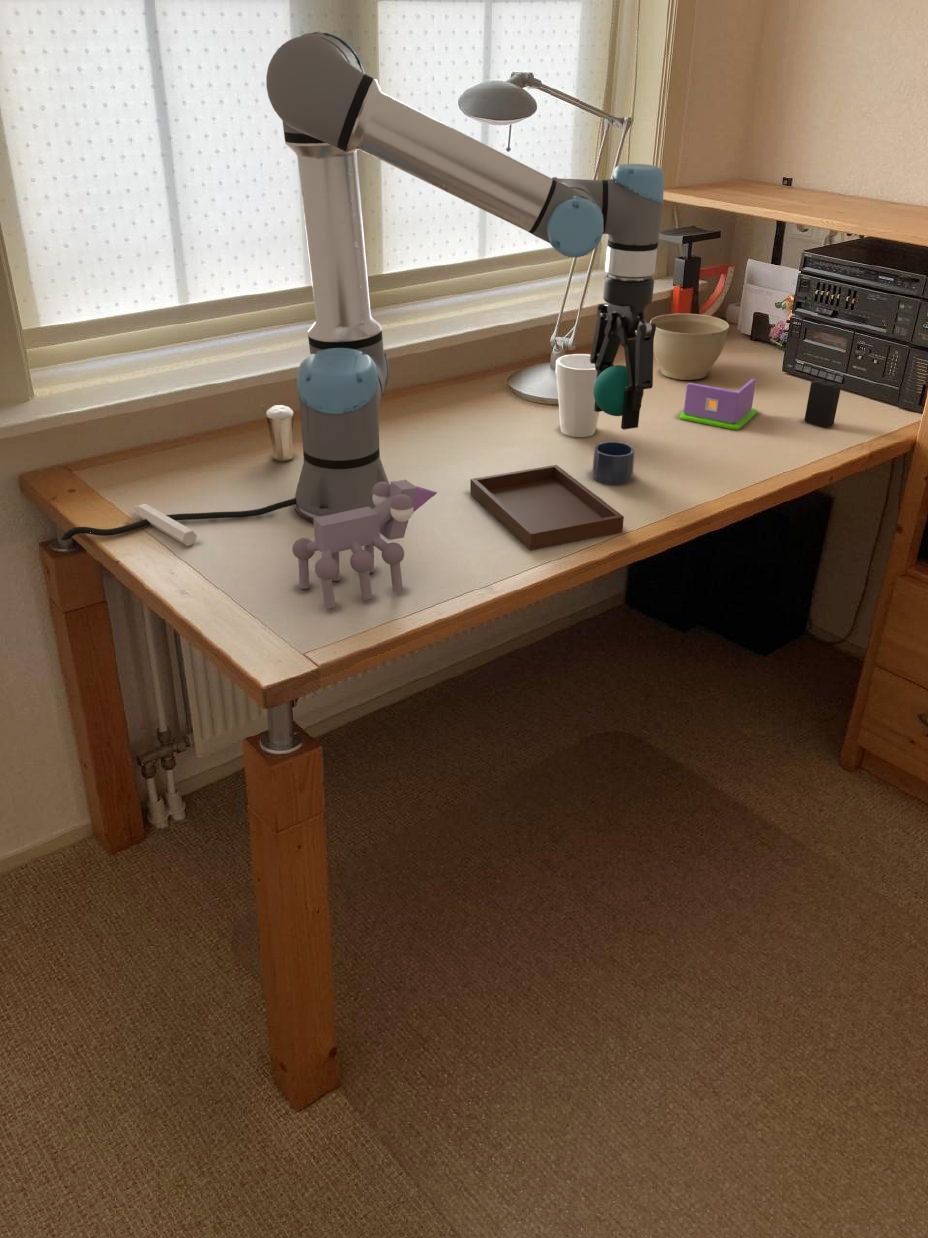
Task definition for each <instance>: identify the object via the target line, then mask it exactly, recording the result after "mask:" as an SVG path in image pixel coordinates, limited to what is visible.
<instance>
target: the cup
mask: <svg viewBox="0 0 928 1238" xmlns="http://www.w3.org/2000/svg"><path fill="white" fill-rule="evenodd" d="M635 455H636V450H635V447H634V446H632V445H631V444H629V443H625V442H623V441H622V442H621V441H603V442H600V443H597V444H595V446H594V447H593V459H592V460H593V461H592V478H593V479H594V480H595V481H597V482H598V483H600V484H604V485H613V486H614V485H615V486H619V485H625V484H628V483H630V482H631V481H632V480H633V476H634V466H635V458H636V457H635Z"/></svg>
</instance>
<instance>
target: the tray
mask: <svg viewBox="0 0 928 1238" xmlns="http://www.w3.org/2000/svg"><path fill="white" fill-rule="evenodd" d="M469 483H470V485H469V487H470V488H469V489H470V491H469V492H470V495H471V496H472V497H473V498H474V499H475V500H476V501H477V502H478V503H479V504H481V506H483V507H484V508H485V509H486V510H487V511H488V512H489V513H490V514H491V515H492V516H493V517H494V518H496V519H497V521H498V522H500V523H501V524H502V525H503V526H504V527H505V528H506V529H507V530H508V531H509V532H510V533H511V534H512V535H513V536H514V537H516V538H517V540H519V542H520V543H522V544H523V545H524V546H525V547H526V548H527V549H528V550H529V551H532V550H537V549H542V548H543V549H544V548H547V547H552V546H559V545H564V544H568V543H573V542H580V541H584V540H589V539H594V538H598V537H603V536H609V535H614V534H619V533H623V532H624V531H623V530H624V521H625V516H624V515H623V514H621V513H620V512H619V511H617V510H616V509H615V508H614V507H612V506H611V505H609V504H608V503H607V502H606V501H604V500H603V499H602V498H601V497H599V496H598V495H597V494H595V493H594V492H593V491H592V490H590V489H589V488H587V487H586V486H585V485H584V484H582V483H581V482H580V481H578V479H576V478H574V477H573V476H572V475H571V474H569V473H568V472H567V471H565V470H564V469H563V468H562V467H560V466H559V465H557V464H553V465H546V466H541V467H535V468H528V469H521V470H518V471H509V472H505V473H499V474H498V473H497V474H493V475H487V476H480V477H474V478H470V481H469Z"/></svg>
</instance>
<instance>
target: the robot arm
mask: <svg viewBox="0 0 928 1238" xmlns="http://www.w3.org/2000/svg"><path fill="white" fill-rule="evenodd" d="M265 79H266V80H265V81H266V82H265V84H266V86H265V87H266V93H267V96H268V100H269V103H270V104H271V107H272V109H273V111H274V112H275V113H276V114H277V116H278V118H280V119H281V121H282V128H283V129H282V130H283V136H284V137H283V138H284V143H285V145H286V146H287V147H288V148H290V149H291V150H292V151H293V153H295V155H296V158H297V166H298V175H299V184H300V192H301V201H302V209H303V218H304V219H303V220H304V227H305V235H306V236H305V237H306V244H307V253H308V259H309V260H308V262H309V270H310V279H311V287H312V288H311V289H312V296H313V305H314V306H313V307H314V314H315V321H314V322H313V324H312V325H311V326H310V328H309V329H308V330H307V337H308V338H307V339H308V345H309V346H308V347H309V355H307V356H306V357H305V358H304V359H303V360H302V361H301V362H300V364H299V366H298V369H297V380H296V389H297V395H298V400H299V401H298V402H299V413H300V415H299V416H300V426H301V427H300V429H301V441H302V453H303V464H302V467H301V471H300V474H299V478H298V482H297V485H296V490H295V495H294V497H293V498H290V499H287V500H283V501H280V502H276V503H273V504H270V505H267V506H264V507H260V508H255V509H248V510H239V511H238V510H236V511H235V510H233V511H208V512H188V513H172V514H165V515H166V516H168V517H170V518H171V519H173V520H175V521H189V520H190V521H193V520H211V519H212V520H213V519H238V518H251V517H256V516H262V515H265V514H268V513H272V512H275V511H277V510H280V509H281V510H282V509H285V508H288V507H292V506H295V511H296V513H297V514H298V515H299V516H300V517H301V518H302V519H305V520H306V521H308V522H310V523H314V522H313V518H317V517H322V516H326V515H331V514H336V513H340V512H345V511H350V510H354V509H359V508H364V507H368V506H369V507H371V508H372V509H373V508H374V507H376V506H375V504H374V503H373V499H372V497H373V493H372V489H373V487H374V486H375V485H376V484H377V483H379V482H387V483H389V484H390V482H389V478H388V476H387V474H386V471H385V468H384V466H383V463H382V460H381V454H380V453H381V452H380V423H379V413H380V405H381V402H382V398H383V395H384V392H385V389H386V387H387V383H388V379H389V373H390V367H389V359H388V357H387V354H386V352H385V349H384V340H383V338H384V337H383V328H382V325H381V323H379V322H378V321H377V320H376V319H375V318H374V317H373V316H372V312H371V301H370V288H369V278H368V277H369V276H368V267H367V266H368V265H367V256H366V243H365V232H364V222H363V221H364V220H363V211H362V210H363V209H362V208H363V207H362V198H361V188H360V187H361V186H360V176H359V175H360V174H359V165H358V163H359V162H358V153H357V152H358V151H362V152H363V153H366V154H367V155H370V156H372V157H374V158H376V159H378V160H380V161H382V162H384V163H386V164H388V165H390V166H391V167H392V166H393V167H394V168H397V169H399V170H401V171H402V172H405V173H407V174H409V175H410V176H413V177H415V178H417V179H419V180H421V181H423V182H425V183H427V184H429V185H431V186H433V187H435V188H438V189H439V190H442V191H444V192H445V193H448V194H450V195H452V196H454V197H456V198H458V199H460V200H462V201H464V202H466V203H468V204H470V205H472V206H474V207H477V208H479V209H481V210H482V211H484V212H487V213H489V214H490V215H493V216H495V217H497V218H499V219H501V220H503V221H504V222H507V223H508V224H509V223H510V224H511V225H514V226H515V227H517V228H520V229H522V230H524V231H526V232H527V233H529V234H530V235H533V236H534V237H536V238H538V239H541V240H542V241H545V242H546V243H548V244H550V246H551V247H552V248H553V249H554V250H555V251H557V252H558V253H559V254H561V255H563V256H564V257H567V258H581V257H584V256H587V255H588V254H590V253H592V252H593V251H594V250H595V249H596V248H597V247H598V246H599V244H600V243H601V241H602V238H603V235H607V236H608V237H607V238H608V239H607V245H606V256H605V265H604V272H605V273H606V275H605V276H604V279H603V280H604V282H603V290H602V299H603V300H604V302H605V303H599V304H597V305H596V322H595V327H594V334H593V339H592V343H591V344H592V345H591V350H590V355H591V356H590V362H591V364H595V369H596V371H597V377H598V376H599V375H600V373H601V372H603V371H604V370H605V369H607V368H609V367H611V366H615V364H614V363H615V362H614V361H615V359H616V356H617V354H618V352H619V349H620V345H621V347H623V350H624V359H625V366H626V369H627V378H628V387H626V388H625V393H624V403H623V412H622V416H621V423H620V429H622V430H631V429H637V428H639V421H640V413H641V408H642V401H643V398H642V393H643V390H650V389H652V388H653V385H654V353H653V344H654V335H655V331H656V325H655V323H650V322H648V321H647V320H646V314H645V313H646V312H645V309H646V307H647V306H648V305H650V304H651V303H652V301H653V296H654V287H655V279H654V278H653V276H654V275H655V274H656V265H657V256H658V247H659V241H660V240H659V238H660V232H661V231H660V230H661V222H662V215H663V207H664V204H665V203H664V202H665V201H664V191H665V172H664V171H663V169H661V168H660V167H659V166H657V165H652V164H646V163H645V164H644V163H622V164H618V165H617V166H615V168H614V169H613V174H612V176H611V178H607V179H581V178H558V177H557V176H554V177H550V176H548V175H546V174H544V173H542V172H540V171H539V170H536V169H534V168H532V167H530V166H528V165H527V164H525V163H522V162H520V161H518V160H516V159H514V158H512V157H510V156H509V155H507V154H504V153H503V152H501V151H498V150H497V149H495V148H493V147H491V146H489V145H487V144H485V143H483V142H481V141H479V140H477V139H475V138H473V137H471V136H470V135H467V134H466V133H463V132H462V131H459V130H457V129H456V128H453V127H451V126H450V125H447V124H446V123H444V122H442V121H440V120H438V119H436V118H434V117H432V116H430V115H428V114H426V113H424V112H422V111H420V110H418V109H416V108H415V107H413V106H410V105H408V104H406V103H404V102H403V101H401V100H398V99H396V98H394V97H392V96H390V95H389V94H386V93H384V92H383V91H382V90H381V87H380V85H379V83H378V80H377V78H374V77H372V76H370V75H368V74H367V73H365V69H364V68H363V65H362V61H361V60H360V58H359V56H358V54H357V53H356V51H355V50H354V49H353V48H352V46H350V45H349V43H347V42H346V41H345V40H343V39H342V38H341V37H339V36H336V35H335V34H331V33H329V32H318V31H315V32H308V33H304V34H302V35H300V36H296V37H293V38H291V39H289V40H287V41H286V42H284V43H283V44H282V45H281V46H279V47H278V49H277V50H276V51H275V52H274V53H273V55H272V57H271V59H270V61H269V63H268V67H267V71H266V77H265ZM643 394H644V393H643ZM594 411H596V412H599V413H600V412H603V411H602V410H601V409H600V408H599V407H598V405H597V404H596V402H595V406H594ZM147 526H152V525H151V523H150V522H149V521H148V520H147V519H145V520H142V519H140V520H138V521H136V522H133V523H129V524H126V525H123V526H117V527H113V528H97V527H89V526H76V527H72V528H70V529H69V530H67V531H66V532H65V533H64V534H63V535H62V536H61V539H60V540H61V541H67V540H70V539H72V537H74V536H76V535H78V534H85V535H86V534H87V535H93V536H101V537H104V536H105V537H108V536H109V537H110V536H117V535H121V534H125V533H128V532H132V531H134V530H138V529H141V528H143V527H147ZM90 532H91V533H90Z"/></svg>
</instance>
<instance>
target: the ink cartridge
mask: <svg viewBox="0 0 928 1238" xmlns="http://www.w3.org/2000/svg"><path fill="white" fill-rule="evenodd" d="M809 387H810V388H809V391H808V398H807V404H806V409H805V415H804V418H803V419H804V422H805V423H807V424H810V425H813V426H817V427H820V428H825V429H828V428H830V427H831V426H833V425H834V424H835V419H836V414H837V409H838V404H839V400H840V394H841V391H842V390H841V385H839V384H838V383H836V382H831V381H827V380H825V379H815V380H813V381H811V382H810V386H809Z"/></svg>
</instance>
